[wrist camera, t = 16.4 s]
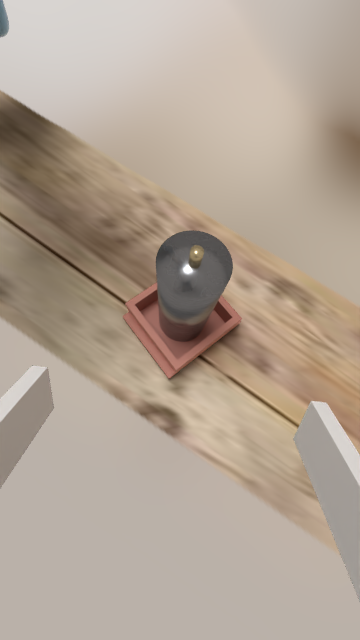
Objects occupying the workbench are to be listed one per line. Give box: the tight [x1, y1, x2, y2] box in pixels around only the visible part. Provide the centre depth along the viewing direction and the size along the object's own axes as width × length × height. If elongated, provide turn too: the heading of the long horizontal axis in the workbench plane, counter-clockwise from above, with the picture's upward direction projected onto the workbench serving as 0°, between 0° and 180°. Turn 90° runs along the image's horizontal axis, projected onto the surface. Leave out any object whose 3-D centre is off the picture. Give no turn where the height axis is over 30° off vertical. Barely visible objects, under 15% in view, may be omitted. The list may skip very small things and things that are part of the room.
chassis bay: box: [123, 282, 242, 379], centre depth 32 cm, size 10×12×4 cm
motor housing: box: [156, 231, 233, 342], centre depth 25 cm, size 6×6×16 cm
